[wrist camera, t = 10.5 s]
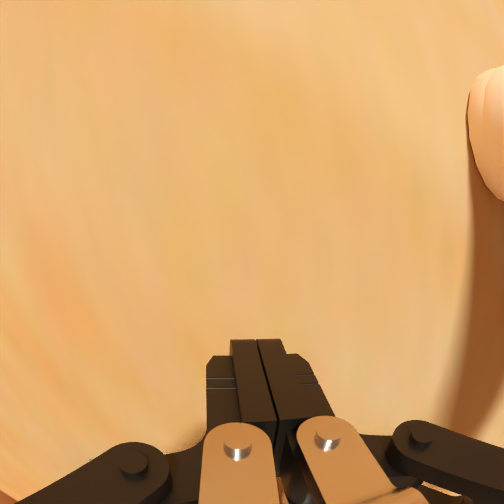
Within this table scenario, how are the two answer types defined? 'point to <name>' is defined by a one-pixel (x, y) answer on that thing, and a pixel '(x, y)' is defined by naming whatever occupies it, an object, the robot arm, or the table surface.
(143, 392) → the table surface
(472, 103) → the bottle
